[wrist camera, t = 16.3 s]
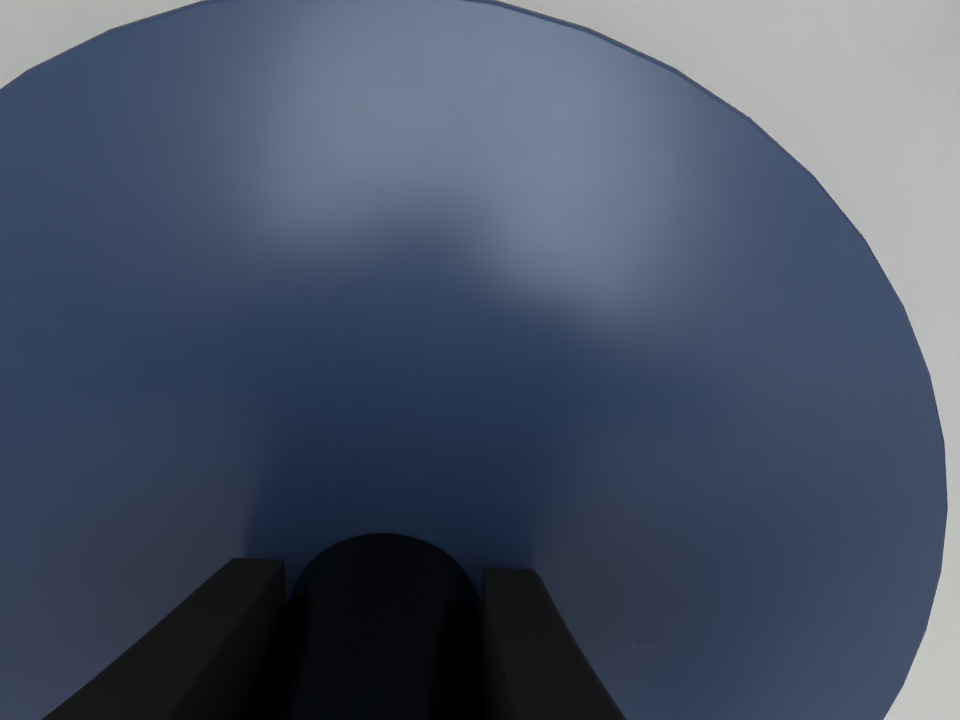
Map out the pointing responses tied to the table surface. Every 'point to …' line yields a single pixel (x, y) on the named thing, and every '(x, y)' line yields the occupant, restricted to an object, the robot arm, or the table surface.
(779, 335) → the tin lid
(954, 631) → the table surface
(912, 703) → the table surface
